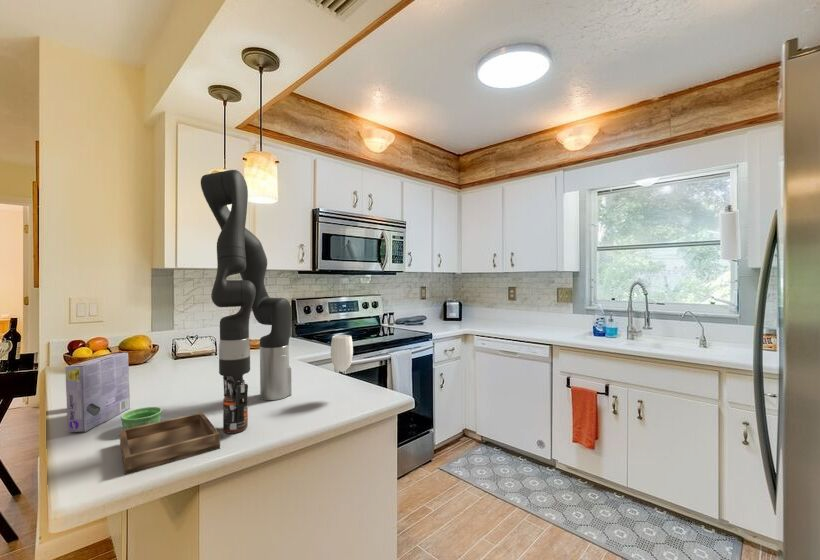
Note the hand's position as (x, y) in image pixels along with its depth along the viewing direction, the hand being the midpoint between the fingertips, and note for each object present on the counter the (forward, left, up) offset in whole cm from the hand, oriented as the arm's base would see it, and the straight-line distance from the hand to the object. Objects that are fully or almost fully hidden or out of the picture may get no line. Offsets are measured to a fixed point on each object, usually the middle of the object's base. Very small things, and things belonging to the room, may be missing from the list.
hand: (235, 417), depth 100 cm
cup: (-34, -3, -3) cm, 34 cm away
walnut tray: (+15, 0, -3) cm, 15 cm away
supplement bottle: (0, 0, -3) cm, 3 cm away
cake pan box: (+27, -32, -3) cm, 42 cm away
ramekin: (+19, -17, -3) cm, 26 cm away
